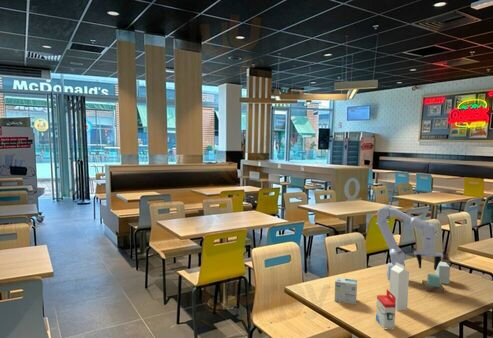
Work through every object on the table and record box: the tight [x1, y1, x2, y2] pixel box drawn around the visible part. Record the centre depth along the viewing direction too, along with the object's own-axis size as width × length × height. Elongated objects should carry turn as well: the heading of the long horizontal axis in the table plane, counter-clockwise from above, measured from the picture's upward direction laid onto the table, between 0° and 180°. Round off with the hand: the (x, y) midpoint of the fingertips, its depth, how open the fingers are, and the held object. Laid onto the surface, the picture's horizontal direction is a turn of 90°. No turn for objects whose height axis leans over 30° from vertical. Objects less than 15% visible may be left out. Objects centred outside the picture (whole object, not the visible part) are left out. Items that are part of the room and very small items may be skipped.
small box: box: [434, 261, 451, 285], centre depth 198 cm, size 8×6×10 cm
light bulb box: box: [334, 276, 358, 305], centre depth 173 cm, size 11×7×11 cm, turn 71°
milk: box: [389, 262, 410, 311], centre depth 166 cm, size 6×6×22 cm
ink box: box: [375, 289, 396, 330], centre depth 150 cm, size 8×5×15 cm, turn 3°
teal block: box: [426, 273, 440, 287], centre depth 187 cm, size 5×5×5 cm
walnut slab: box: [421, 279, 445, 294], centre depth 188 cm, size 9×9×3 cm
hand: (427, 268), depth 190 cm, fingers open, 7 cm apart
